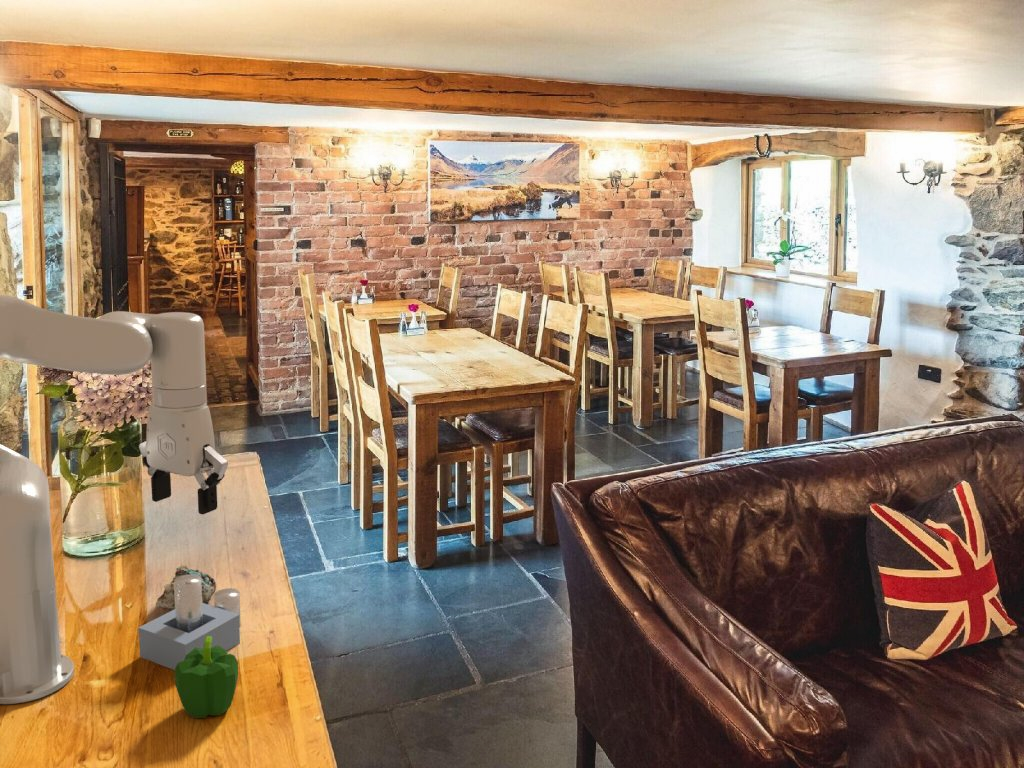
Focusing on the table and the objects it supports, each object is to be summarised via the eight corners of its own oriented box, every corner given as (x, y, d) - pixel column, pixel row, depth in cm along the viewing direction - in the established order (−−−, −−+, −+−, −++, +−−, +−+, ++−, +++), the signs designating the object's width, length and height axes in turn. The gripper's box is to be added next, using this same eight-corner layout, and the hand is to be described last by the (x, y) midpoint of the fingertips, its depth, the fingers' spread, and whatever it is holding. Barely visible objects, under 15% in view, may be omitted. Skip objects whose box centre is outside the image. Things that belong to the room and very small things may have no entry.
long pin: (190, 659, 137) (186, 587, 134) (171, 652, 138) (168, 581, 136) (209, 647, 140) (206, 578, 137) (191, 641, 142) (188, 572, 139)
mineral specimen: (208, 618, 148) (213, 569, 149) (150, 615, 146) (156, 567, 147) (218, 609, 160) (223, 565, 161) (165, 607, 158) (170, 562, 159)
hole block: (186, 674, 132) (185, 644, 131) (140, 657, 137) (138, 627, 135) (239, 643, 142) (239, 614, 141) (194, 627, 146) (193, 599, 145)
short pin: (228, 635, 144) (227, 601, 143) (210, 628, 146) (208, 595, 145) (245, 624, 148) (244, 592, 146) (227, 619, 149) (226, 586, 148)
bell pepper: (222, 730, 119) (219, 663, 117) (166, 721, 121) (162, 655, 118) (250, 696, 127) (248, 633, 125) (197, 688, 129) (195, 626, 127)
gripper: (118, 392, 131) (124, 501, 134) (203, 410, 123) (207, 524, 127) (158, 384, 137) (163, 487, 141) (242, 399, 130) (245, 509, 133)
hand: (184, 505), depth 134 cm, fingers open, 9 cm apart
